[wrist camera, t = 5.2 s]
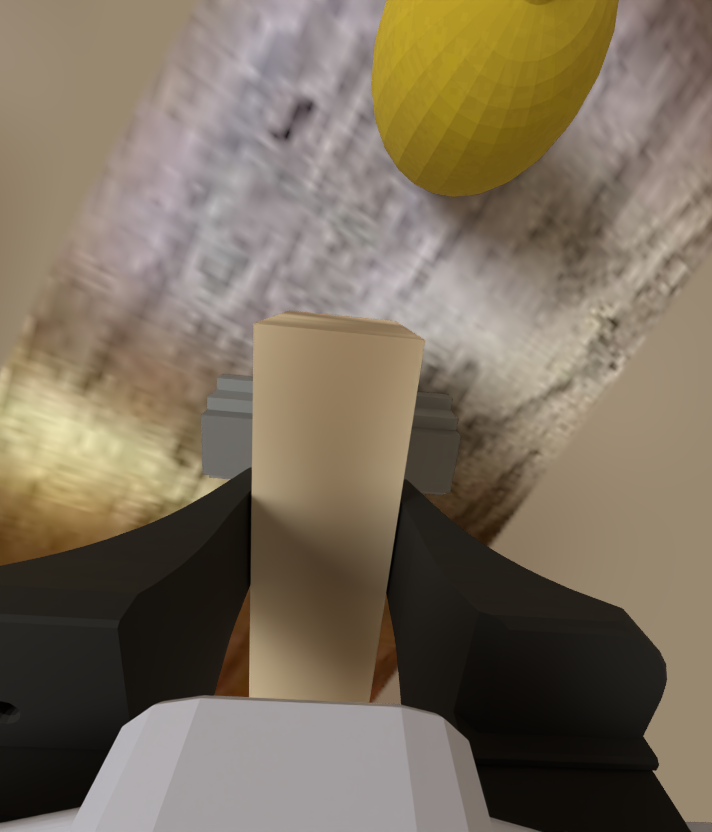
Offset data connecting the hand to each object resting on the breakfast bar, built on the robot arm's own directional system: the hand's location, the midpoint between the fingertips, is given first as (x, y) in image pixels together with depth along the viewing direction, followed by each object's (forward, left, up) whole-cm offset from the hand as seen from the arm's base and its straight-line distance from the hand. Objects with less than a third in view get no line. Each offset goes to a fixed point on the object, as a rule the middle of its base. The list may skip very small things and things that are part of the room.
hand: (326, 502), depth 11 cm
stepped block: (0, 0, -6) cm, 6 cm away
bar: (0, 0, -3) cm, 3 cm away
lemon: (+3, +12, -6) cm, 14 cm away
